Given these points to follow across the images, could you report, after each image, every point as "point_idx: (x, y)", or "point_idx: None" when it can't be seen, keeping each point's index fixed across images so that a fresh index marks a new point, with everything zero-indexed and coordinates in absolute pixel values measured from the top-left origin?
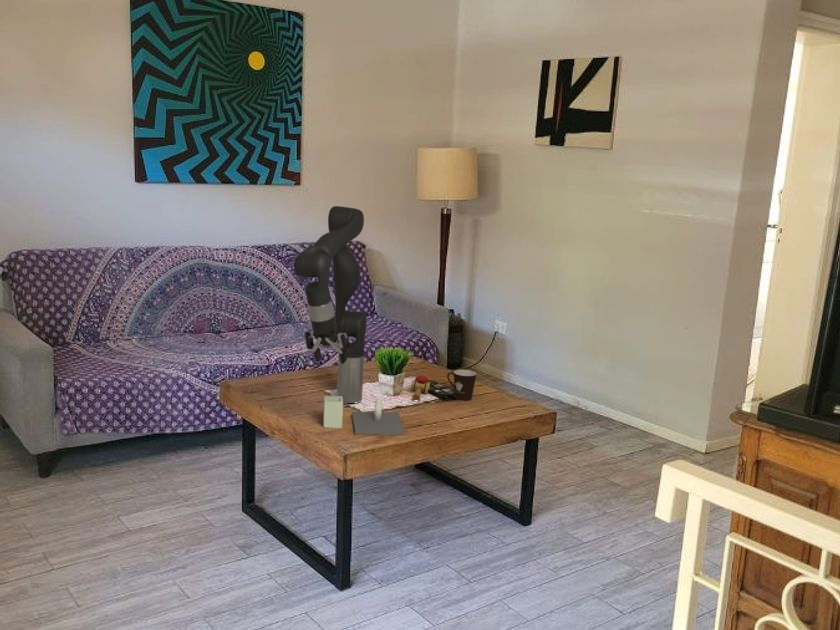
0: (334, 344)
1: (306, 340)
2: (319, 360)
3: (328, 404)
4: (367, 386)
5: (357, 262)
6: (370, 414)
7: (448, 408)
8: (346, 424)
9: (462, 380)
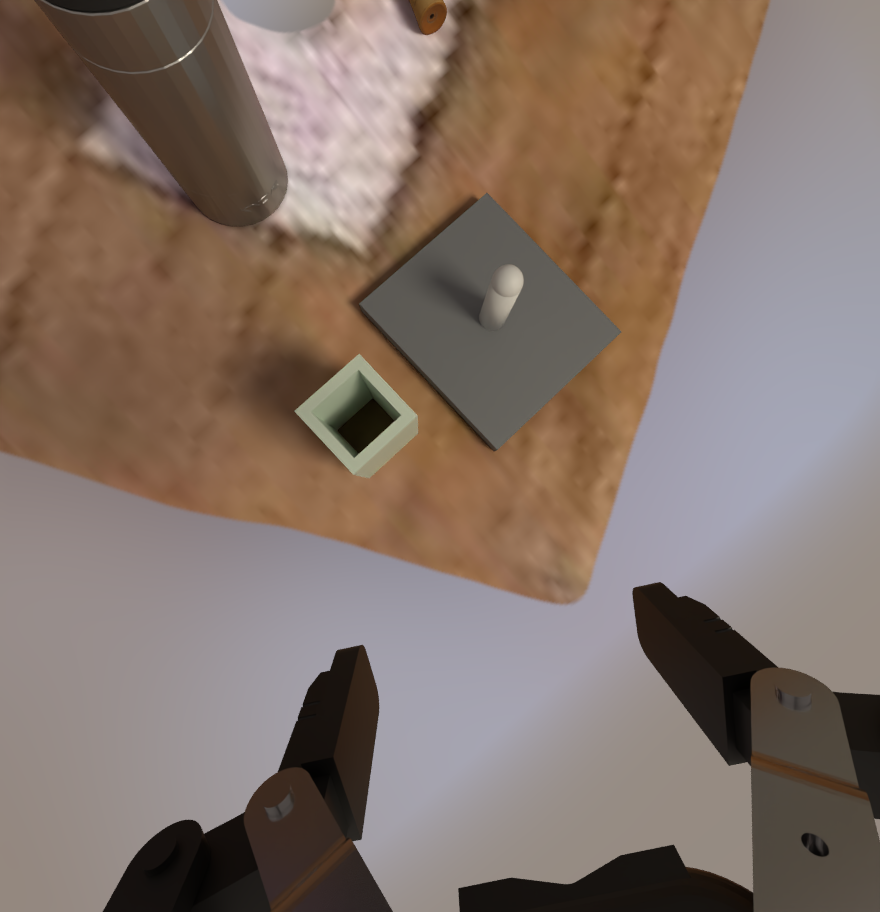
0: None
1: None
2: (375, 696)
3: (368, 462)
4: None
5: None
6: (428, 280)
7: (559, 19)
8: (404, 393)
9: None
